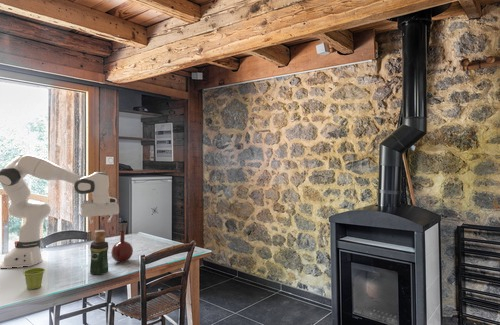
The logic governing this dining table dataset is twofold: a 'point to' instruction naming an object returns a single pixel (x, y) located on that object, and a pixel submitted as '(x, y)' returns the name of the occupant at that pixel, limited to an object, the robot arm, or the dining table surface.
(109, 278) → the dining table surface
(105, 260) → the coffee jar
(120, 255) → the round-bottom flask
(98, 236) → the walnut box
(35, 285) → the plant pot
